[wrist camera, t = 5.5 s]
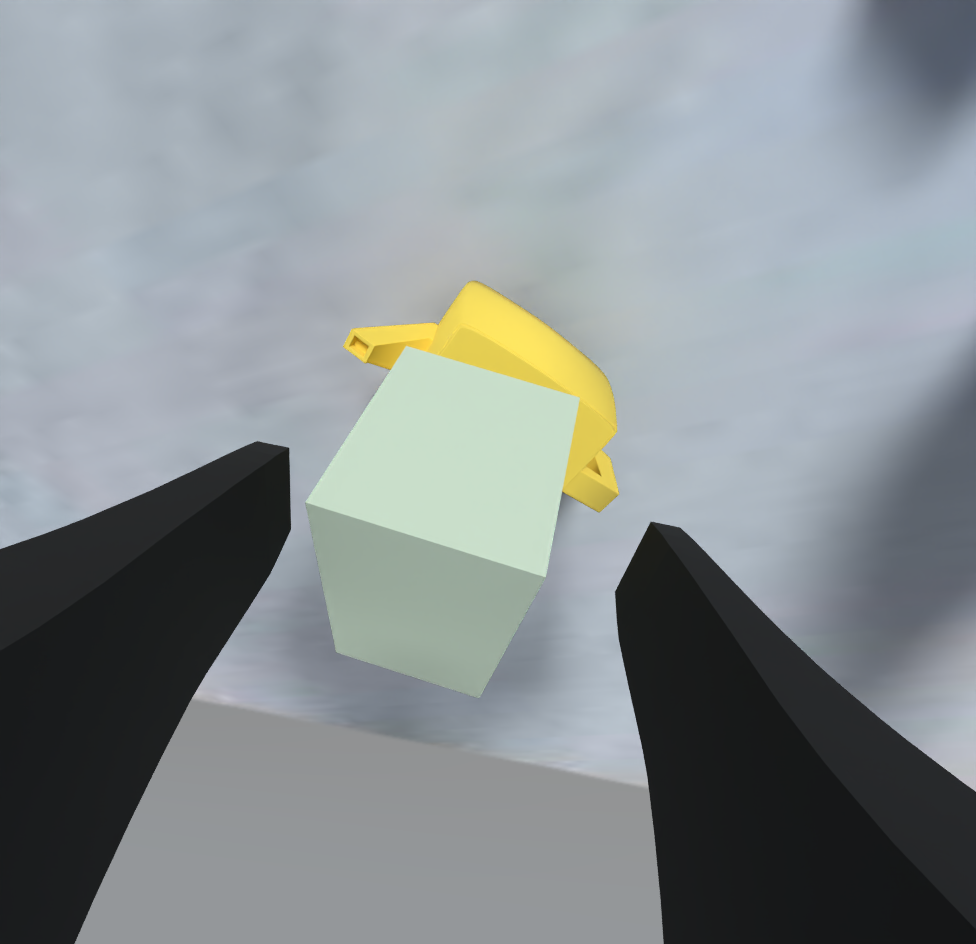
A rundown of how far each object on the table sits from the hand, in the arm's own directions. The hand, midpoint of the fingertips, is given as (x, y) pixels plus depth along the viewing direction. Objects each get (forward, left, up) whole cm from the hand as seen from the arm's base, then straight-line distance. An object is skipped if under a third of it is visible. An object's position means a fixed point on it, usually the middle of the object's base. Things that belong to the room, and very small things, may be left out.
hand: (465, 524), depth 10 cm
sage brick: (0, 0, -2) cm, 2 cm away
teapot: (0, 0, -8) cm, 8 cm away
